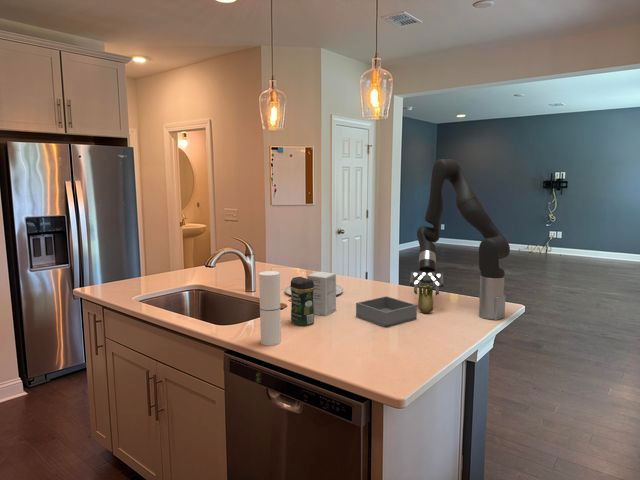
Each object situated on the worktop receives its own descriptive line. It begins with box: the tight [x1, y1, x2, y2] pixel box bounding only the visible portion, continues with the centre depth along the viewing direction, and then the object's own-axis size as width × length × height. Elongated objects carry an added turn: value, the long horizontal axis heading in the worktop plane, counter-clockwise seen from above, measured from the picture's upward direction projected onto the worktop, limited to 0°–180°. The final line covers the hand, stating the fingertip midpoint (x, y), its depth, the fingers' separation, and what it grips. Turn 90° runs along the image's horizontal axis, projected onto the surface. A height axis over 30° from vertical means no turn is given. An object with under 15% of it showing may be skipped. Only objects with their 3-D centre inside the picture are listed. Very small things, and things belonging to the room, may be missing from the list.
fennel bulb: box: [417, 284, 434, 314], centre depth 191 cm, size 6×5×12 cm
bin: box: [355, 295, 418, 329], centre depth 184 cm, size 18×18×6 cm
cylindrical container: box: [258, 270, 282, 347], centre depth 157 cm, size 7×7×25 cm
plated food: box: [284, 284, 344, 296], centre depth 228 cm, size 30×30×3 cm
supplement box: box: [306, 271, 337, 317], centre depth 193 cm, size 10×9×17 cm
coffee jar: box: [289, 276, 315, 326], centre depth 178 cm, size 10×8×19 cm
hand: (426, 293), depth 192 cm, fingers open, 8 cm apart
